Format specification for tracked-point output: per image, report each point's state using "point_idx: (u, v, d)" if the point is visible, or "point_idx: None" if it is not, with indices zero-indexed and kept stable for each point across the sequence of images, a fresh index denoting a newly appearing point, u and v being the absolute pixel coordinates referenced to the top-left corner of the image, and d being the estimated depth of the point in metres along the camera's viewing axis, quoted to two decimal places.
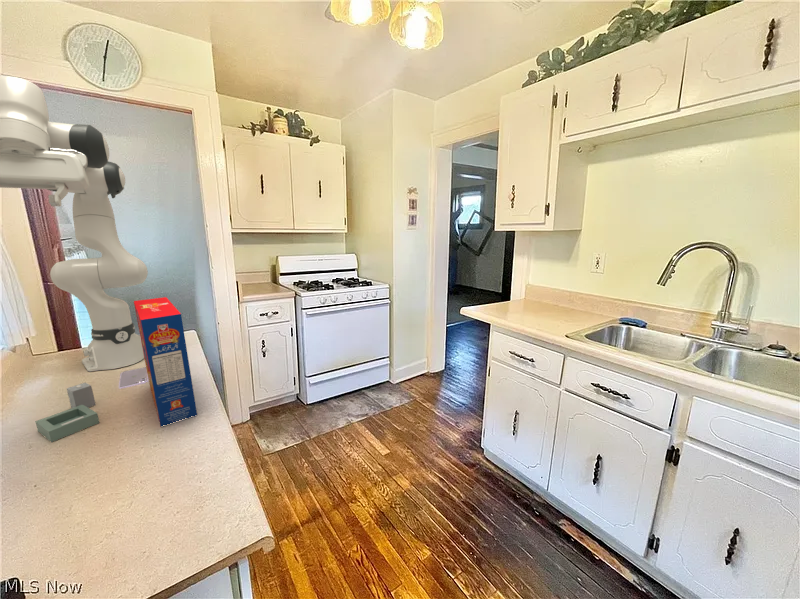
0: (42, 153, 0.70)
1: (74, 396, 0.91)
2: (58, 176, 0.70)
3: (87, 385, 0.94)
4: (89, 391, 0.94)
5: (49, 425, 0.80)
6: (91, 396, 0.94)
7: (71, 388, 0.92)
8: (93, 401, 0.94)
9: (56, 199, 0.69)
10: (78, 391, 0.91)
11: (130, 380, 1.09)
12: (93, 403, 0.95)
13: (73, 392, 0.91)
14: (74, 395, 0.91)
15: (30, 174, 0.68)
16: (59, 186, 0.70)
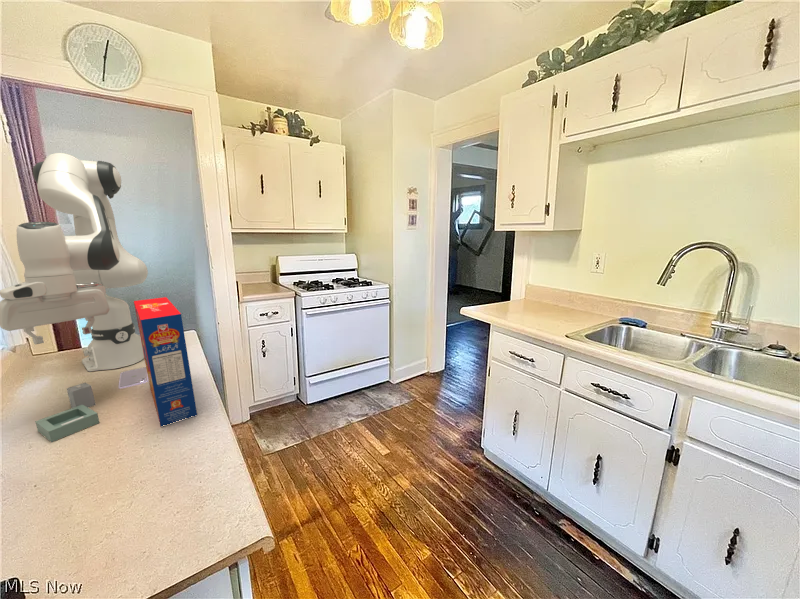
0: (76, 295, 0.88)
1: (74, 396, 0.91)
2: (91, 313, 0.91)
3: (87, 385, 0.94)
4: (89, 391, 0.94)
5: (49, 425, 0.80)
6: (91, 396, 0.94)
7: (71, 388, 0.92)
8: (93, 401, 0.94)
9: (90, 331, 0.92)
10: (78, 391, 0.91)
11: (130, 380, 1.09)
12: (93, 403, 0.95)
13: (73, 392, 0.91)
14: (74, 395, 0.91)
15: (71, 316, 0.88)
16: (91, 319, 0.92)
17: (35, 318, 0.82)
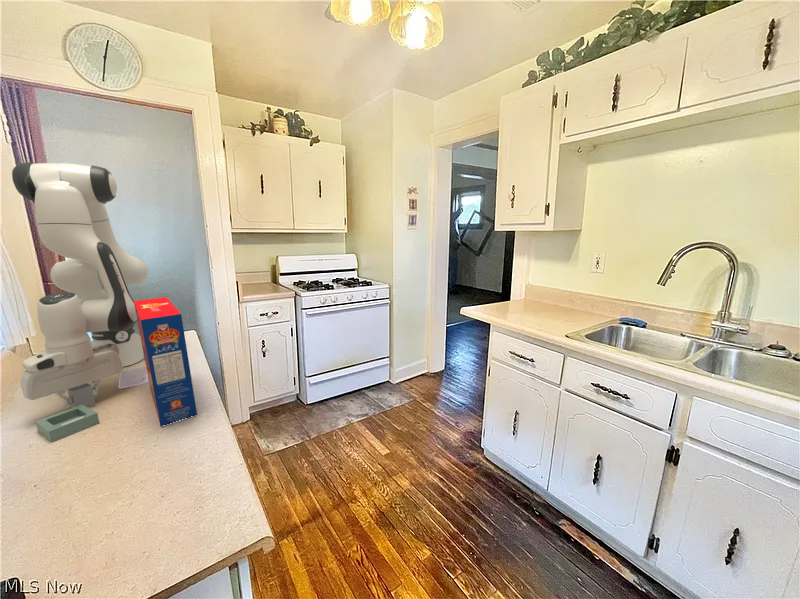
0: (93, 359, 0.94)
1: (74, 396, 0.91)
2: (107, 374, 0.97)
3: (87, 385, 0.94)
4: (89, 391, 0.94)
5: (49, 425, 0.80)
6: (91, 396, 0.94)
7: (71, 388, 0.92)
8: (93, 401, 0.94)
9: (97, 392, 0.96)
10: (78, 390, 0.91)
11: (130, 380, 1.09)
12: (93, 403, 0.95)
13: (73, 392, 0.91)
14: (74, 395, 0.91)
15: (88, 378, 0.93)
16: (97, 382, 0.96)
17: (56, 385, 0.88)
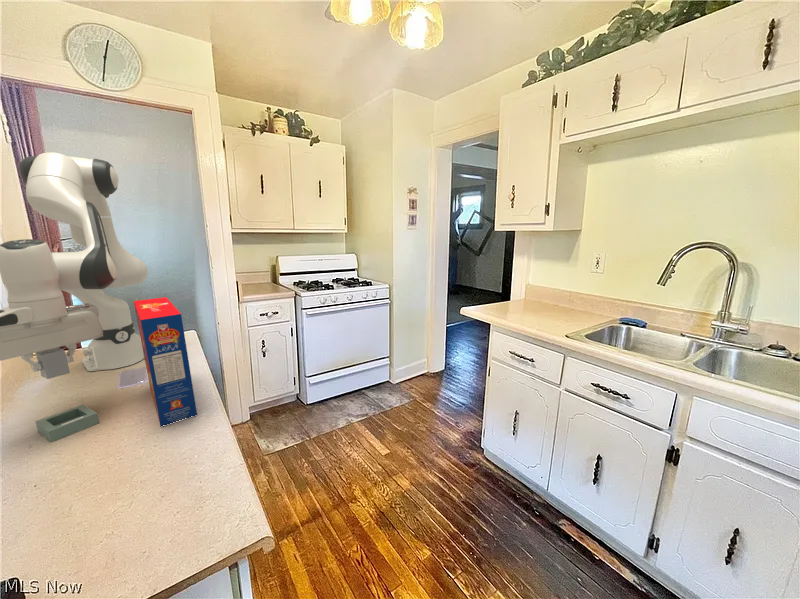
0: (66, 319, 0.81)
1: (44, 361, 0.78)
2: (83, 338, 0.84)
3: (60, 349, 0.81)
4: (63, 357, 0.81)
5: (49, 425, 0.80)
6: (64, 362, 0.81)
7: (41, 352, 0.79)
8: (67, 368, 0.81)
9: (71, 359, 0.83)
10: (48, 355, 0.78)
11: (129, 380, 1.09)
12: (67, 370, 0.81)
13: (42, 356, 0.78)
14: (44, 360, 0.78)
15: (61, 342, 0.80)
16: (72, 347, 0.83)
17: (20, 346, 0.75)
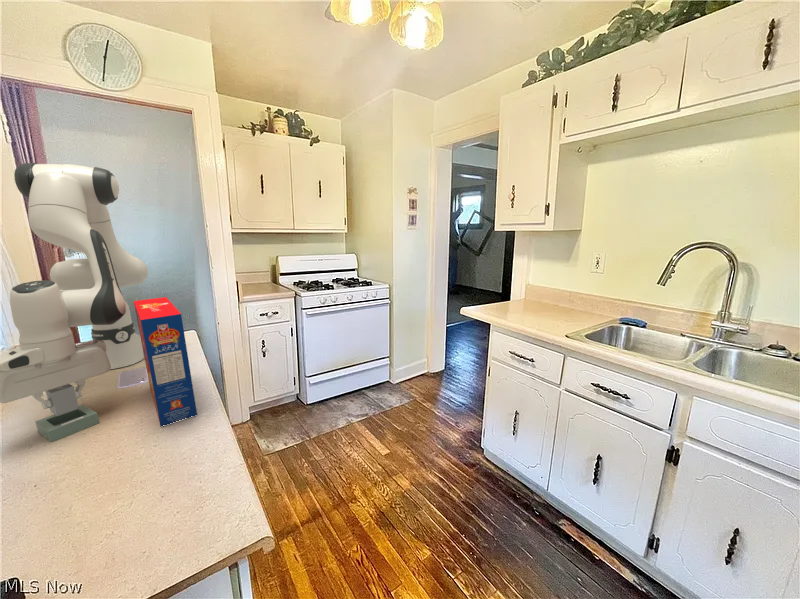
0: (75, 356, 0.83)
1: (54, 398, 0.80)
2: (92, 373, 0.86)
3: (69, 386, 0.83)
4: (72, 393, 0.83)
5: (49, 425, 0.80)
6: (74, 398, 0.83)
7: None
8: (76, 404, 0.83)
9: (80, 394, 0.85)
10: (58, 392, 0.80)
11: (129, 380, 1.09)
12: (76, 406, 0.83)
13: (52, 394, 0.80)
14: (54, 397, 0.80)
15: (70, 379, 0.82)
16: (81, 383, 0.85)
17: (31, 386, 0.77)
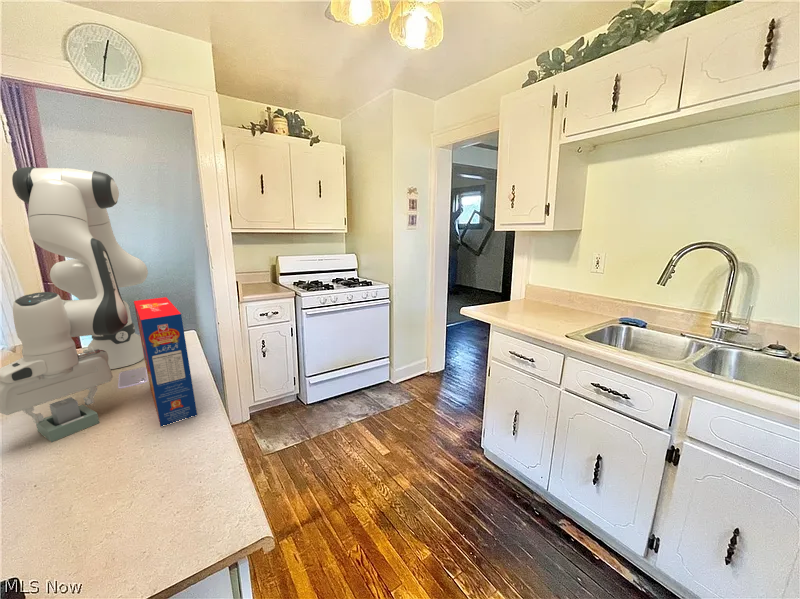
0: (78, 367, 0.83)
1: (57, 413, 0.81)
2: (94, 383, 0.87)
3: (73, 400, 0.84)
4: (75, 408, 0.84)
5: (49, 425, 0.80)
6: (77, 413, 0.84)
7: (54, 404, 0.82)
8: None
9: (92, 401, 0.87)
10: (62, 407, 0.81)
11: (129, 380, 1.09)
12: None
13: (56, 409, 0.81)
14: (57, 412, 0.81)
15: (72, 389, 0.83)
16: (93, 389, 0.87)
17: (34, 397, 0.77)
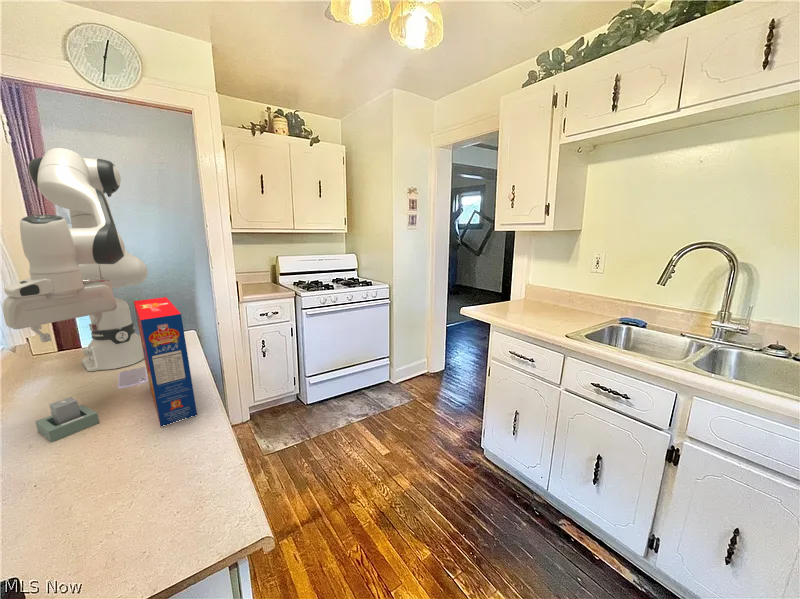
0: (83, 291, 0.86)
1: (57, 413, 0.81)
2: (99, 310, 0.89)
3: (73, 400, 0.84)
4: (75, 408, 0.84)
5: (49, 425, 0.80)
6: (77, 413, 0.84)
7: (54, 404, 0.82)
8: None
9: (98, 327, 0.90)
10: (62, 407, 0.81)
11: (129, 380, 1.09)
12: None
13: (56, 409, 0.81)
14: (57, 412, 0.81)
15: (78, 313, 0.85)
16: (98, 316, 0.90)
17: (42, 315, 0.80)
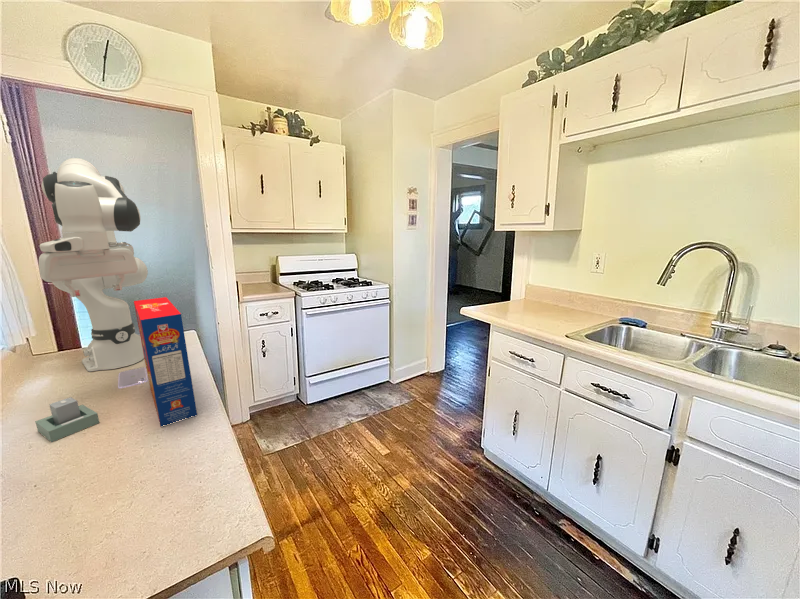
0: (109, 252, 0.94)
1: (57, 413, 0.81)
2: (122, 271, 0.97)
3: (73, 400, 0.84)
4: (75, 408, 0.84)
5: (49, 425, 0.80)
6: (77, 413, 0.84)
7: (54, 404, 0.82)
8: None
9: (120, 287, 0.98)
10: (62, 407, 0.81)
11: (129, 380, 1.09)
12: None
13: (56, 409, 0.81)
14: (57, 412, 0.81)
15: (104, 272, 0.93)
16: (121, 277, 0.98)
17: (72, 271, 0.88)
